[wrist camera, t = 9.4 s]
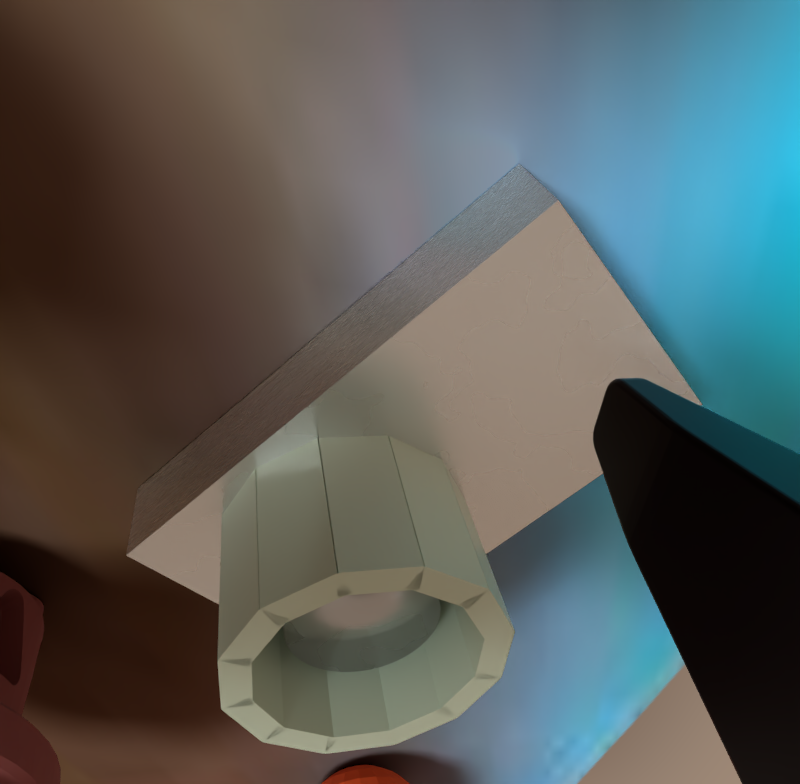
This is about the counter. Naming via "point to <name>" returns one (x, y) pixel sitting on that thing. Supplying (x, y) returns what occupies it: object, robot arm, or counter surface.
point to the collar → (351, 575)
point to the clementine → (365, 776)
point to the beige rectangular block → (428, 404)
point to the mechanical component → (21, 689)
